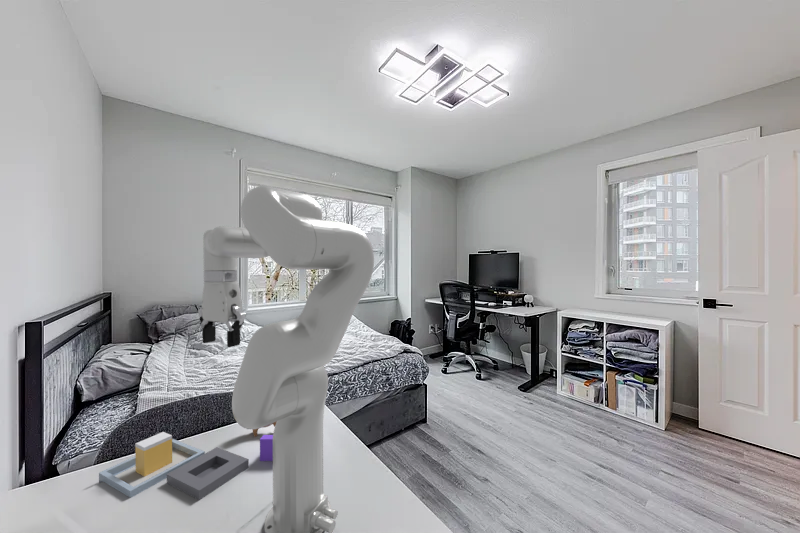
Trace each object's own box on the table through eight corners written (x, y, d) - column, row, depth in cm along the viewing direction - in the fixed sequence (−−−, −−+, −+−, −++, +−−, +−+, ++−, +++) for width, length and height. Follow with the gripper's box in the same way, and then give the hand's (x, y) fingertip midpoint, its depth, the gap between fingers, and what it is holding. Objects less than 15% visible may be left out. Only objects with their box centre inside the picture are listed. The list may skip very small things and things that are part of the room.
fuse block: (248, 471, 78) (248, 459, 78) (199, 504, 67) (199, 490, 67) (217, 458, 83) (217, 447, 83) (166, 487, 72) (166, 474, 72)
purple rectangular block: (286, 466, 80) (286, 439, 80) (260, 466, 80) (259, 439, 80) (302, 440, 92) (302, 416, 92) (279, 440, 92) (279, 416, 92)
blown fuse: (172, 463, 80) (172, 435, 80) (144, 477, 75) (144, 447, 75) (163, 458, 82) (163, 431, 82) (135, 472, 76) (135, 443, 76)
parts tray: (204, 460, 82) (204, 451, 82) (130, 502, 68) (130, 491, 68) (173, 447, 88) (173, 438, 88) (99, 482, 74) (98, 472, 74)
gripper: (256, 277, 82) (256, 344, 82) (213, 276, 89) (213, 337, 89) (229, 278, 75) (230, 351, 75) (185, 277, 83) (185, 343, 83)
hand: (221, 343), depth 82 cm, fingers open, 9 cm apart
